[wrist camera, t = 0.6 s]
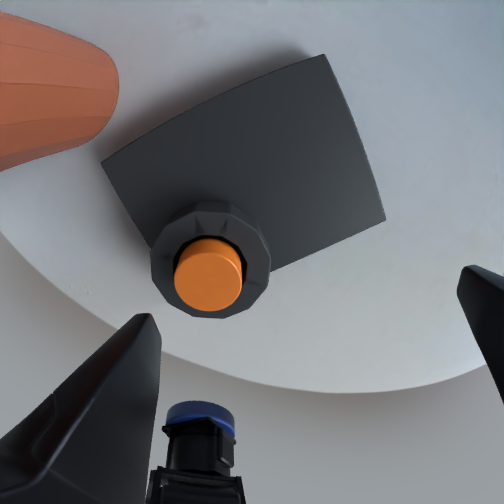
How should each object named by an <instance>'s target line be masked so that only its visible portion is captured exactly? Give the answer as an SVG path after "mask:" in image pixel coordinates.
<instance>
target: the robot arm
mask: <svg viewBox="0 0 504 504" xmlns="http://www.w3.org/2000/svg"><path fill="white" fill-rule="evenodd" d="M457 297H458V299H459V301H460V304H461V306H462V308H463V311H464V313H465V315H466V318H467V320H468V323H469V325H470V328H471V330H472V333H473V335H474V337H475V340H476V342H477V344H478V346H479V348H480V350H481V352H482V354H483V356H484V359H485V361H486V363H487V365H488V367H489V369H490V372H491V374H492V377H493V379H494V381H495V384H496V386H497V388H498V391H499V393H500V396H501V399H502V401H503V404H504V277H503V276H500V275H498V274H496V273H493V272H491V271H489V270H486V269H484V268H482V267H479V266H477V265H469V266H465V267H464V268H463V269H462V271H461V275H460V279H459V283H458V286H457ZM161 345H162V340H161V335H160V333H159V330H158V328H157V326H156V323H155V321H154V318H153V316H152V315H151V314H150V313H141V314H136V315H134V316H133V317H132V318H131V319H130V320H129V321H128V322H127V323H126V324H125V325H123V326H122V327H121V328H120V329H119V330H118V331H117V332H116V333H115V334H114V335H113V336H112V337H110V338H109V339H108V340H107V341H106V342H105V343H104V344H103V345H102V346H101V347H100V348H99V349H98V350H97V351H96V352H94V353H93V354H92V355H91V356H90V357H89V358H88V359H87V360H86V361H85V362H84V363H83V364H82V365H81V366H79V367H78V368H77V369H76V370H75V371H74V372H73V373H72V374H71V375H70V376H69V377H68V378H67V379H66V380H65V381H64V382H63V383H62V384H61V385H60V386H59V387H58V388H56V389H55V391H54V392H53V394H50V395H49V396H48V397H47V398H46V399H45V400H44V401H43V402H42V403H41V404H40V405H39V406H38V407H37V408H36V409H35V410H34V411H33V412H32V413H30V414H29V415H28V416H27V417H26V418H25V419H23V420H22V421H21V422H20V423H19V424H18V425H16V426H15V427H14V428H13V429H12V430H11V431H9V432H8V433H7V434H6V435H5V436H3V437H2V438H1V439H0V504H246V501H245V496H244V490H243V485H242V479H241V477H239V476H236V477H230V468H232V467H233V466H234V452H233V451H234V447H233V445H235V444H236V440H235V439H234V438H233V437H232V436H231V435H230V434H229V433H228V432H227V431H225V430H224V429H223V428H222V427H221V426H220V425H219V424H218V423H217V422H216V421H215V420H214V419H212V418H211V417H209V416H206V417H201V418H197V419H193V420H188V421H184V422H179V423H175V424H170V425H165V426H162V431H163V432H164V433H165V434H166V435H168V436H169V445H168V452H167V461H166V468H163V467H162V466H158V467H157V470H151V472H150V479H149V485H148V490H147V495H146V485H147V475H148V466H149V458H150V450H151V442H152V434H153V427H154V420H155V414H156V407H157V400H158V393H159V381H160V361H161ZM161 485H162V487H161ZM145 495H146V500H145Z"/></svg>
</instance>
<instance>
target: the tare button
mask: <svg viewBox="0 0 504 504" xmlns="http://www.w3.org/2000/svg"><path fill="white" fill-rule="evenodd" d="M174 285H175V289H176V291H177V293H178V295H179V297H180V298H181V299H182V300H183V301H184V302H185V303H186V304H188V305H189V306H191V307H193V308H195V309H198V310H202V311H217V310H221V309H224V308H226V307H228V306H229V305H231V304H232V303H233V302H234V301H235V300H236V299H237V297H238V296H239V294H240V291H241V288H242V272H241V261H240V258H239V256H238V254H237V252H236V251H235V250H234V249H233V248H232V247H231V246H230V245H229V244H227V243H225V242H223V241H221V240H218V239H212V238H206V239H200V240H197V241H195V242H193V243H191V244H190V245H188V246H187V247H186V248H185V250H184V251H183V253H182V254H181V257H180V260H179V263H178V265H177V268H176V271H175V275H174Z"/></svg>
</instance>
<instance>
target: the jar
mask: <svg viewBox="0 0 504 504" xmlns="http://www.w3.org/2000/svg"><path fill="white" fill-rule="evenodd" d="M118 92H119V79H118V73H117V69H116V67H115V64H114V62H113V61H112V59H111V58H110V57H109V55H108V54H107V53H106V52H104V51H103V50H102V49H100V48H98V47H96V46H95V45H93V44H91V43H89V42H86V41H84V40H82V39H79V38H77V37H74V36H72V35H69V34H66V33H64V32H61V31H59V30H56V29H53V28H50V27H48V26H45V25H42V24H39V23H36V22H33V21H30V20H27V19H24V18H21V17H17V16H14V15H11V14H7V13H4V12H0V172H1V171H3V170H6V169H9V168H11V167H14V166H17V165H20V164H23V163H26V162H29V161H31V160H34V159H38V158H41V157H44V156H47V155H50V154H54V153H57V152H60V151H64V150H67V149H71V148H74V147H78V146H80V145H82V144H84V143H87V142H88V141H90V140H91V139H93V138H94V137H95V136H96V135H97V134H98V133H99V132H100V131H101V130H102V129H103V128H104V127H105V125H106V124H107V122H108V121H109V119H110V118H111V116H112V113H113V111H114V109H115V106H116V103H117V99H118Z"/></svg>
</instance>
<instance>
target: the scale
mask: <svg viewBox="0 0 504 504" xmlns="http://www.w3.org/2000/svg"><path fill="white" fill-rule="evenodd" d="M101 165H102V167H103V169H104V170H105V172H106V174H107V176H108V178H109V180H110V181H111V183H112V185H113V187H114V188H115V190H116V192H117V194H118V196H119V197H120V199H121V201H122V202H123V204H124V206H125V208H126V209H127V211H128V213H129V214H130V216H131V218H132V219H133V221H134V223H135V225H136V226H137V228H138V229H139V231H140V233H141V234H142V236H143V238H144V239H145V241H146V242H147V244H148V246H149V247H150V249H151V252H150V258H151V273H152V281H153V282H154V284H155V285H156V287H157V288H158V289H159V291H160V292H161V294H162V295H163V297H164V298H165V299H166V301H167V302H168V303H169V304H171V305H172V306H174V307H176V308H178V309H180V310H182V311H184V312H185V313H187V314H189V315H191V316H193V317H194V316H195V317H202V318H219V319H222V318H223V319H224V318H227V317H229V316H232V315H234V314H237V313H239V312H242V311H244V310H247V309H249V308H250V307H251V306H252V305H253V304H254V302H255V301H256V300H257V299H258V298H259V296H260V295H261V294H262V293H263V292H264V290H265V289H266V288H267V286H268V282H269V274H270V272H272V271H274V270H276V269H279V268H281V267H283V266H286V265H288V264H290V263H292V262H295V261H297V260H299V259H301V258H304V257H306V256H308V255H310V254H313V253H315V252H317V251H319V250H322V249H324V248H326V247H328V246H331V245H333V244H335V243H337V242H339V241H342V240H344V239H346V238H348V237H350V236H353V235H355V234H357V233H359V232H361V231H364V230H366V229H368V228H370V227H372V226H374V225H377V224H379V223H381V222H383V221H385V220H386V217H385V213H384V209H383V206H382V202H381V199H380V195H379V192H378V189H377V186H376V182H375V179H374V176H373V173H372V170H371V167H370V164H369V161H368V158H367V155H366V152H365V149H364V146H363V144H362V141H361V138H360V135H359V133H358V130H357V127H356V125H355V122H354V120H353V117H352V115H351V112H350V110H349V107H348V105H347V102H346V100H345V97H344V95H343V93H342V90H341V88H340V86H339V84H338V81H337V79H336V77H335V75H334V72H333V70H332V68H331V66H330V64H329V62H328V60H327V58H326V56H325V54H321V55H318V56H315V57H312V58H309V59H306V60H303V61H300V62H297V63H295V64H292V65H289V66H286V67H284V68H281V69H278V70H276V71H273V72H271V73H268V74H265V75H263V76H261V77H258V78H256V79H253V80H251V81H249V82H246V83H244V84H242V85H239V86H237V87H235V88H233V89H230V90H228V91H226V92H224V93H222V94H220V95H217V96H215V97H213V98H211V99H209V100H207V101H205V102H203V103H201V104H199V105H197V106H195V107H193V108H191V109H189V110H187V111H185V112H184V113H182V114H180V115H178V116H176V117H174V118H172V119H171V120H169V121H167V122H165V123H163V124H162V125H160V126H158V127H156V128H155V129H153V130H151V131H150V132H148V133H146V134H145V135H143V136H141V137H140V138H138V139H136V140H135V141H133V142H131V143H130V144H128V145H127V146H125V147H124V148H122V149H120V150H119V151H117V152H116V153H114V154H113V155H111V156H110V157H108V158H107V159H105V160H104V161H102V162H101ZM206 238H212V239H218V240H221V241H223V242H225V243H227V244H229V245H230V246H231V247H232V248H233V249H234V250H235V251H236V252H237V254H238V256H239V258H240V261H241V272H242V288H241V291H240V294H239V296H238V297H237V299H236V300H235V301H234V302H233V303H232V304H231V305H229V306H228V307H226V308H224V309H221V310H217V311H202V310H198V309H195V308H193V307H191V306H189V305H188V304H186V303H185V302H184V301H183V300H182V299H181V298H180V297H179V295H178V293H177V291H176V289H175V285H174V275H175V271H176V268H177V265H178V263H179V260H180V257H181V254H182V253H183V251H184V250H185V248H186V247H187V246H188V245H190V244H191V243H193V242H195V241H197V240H200V239H206Z"/></svg>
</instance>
